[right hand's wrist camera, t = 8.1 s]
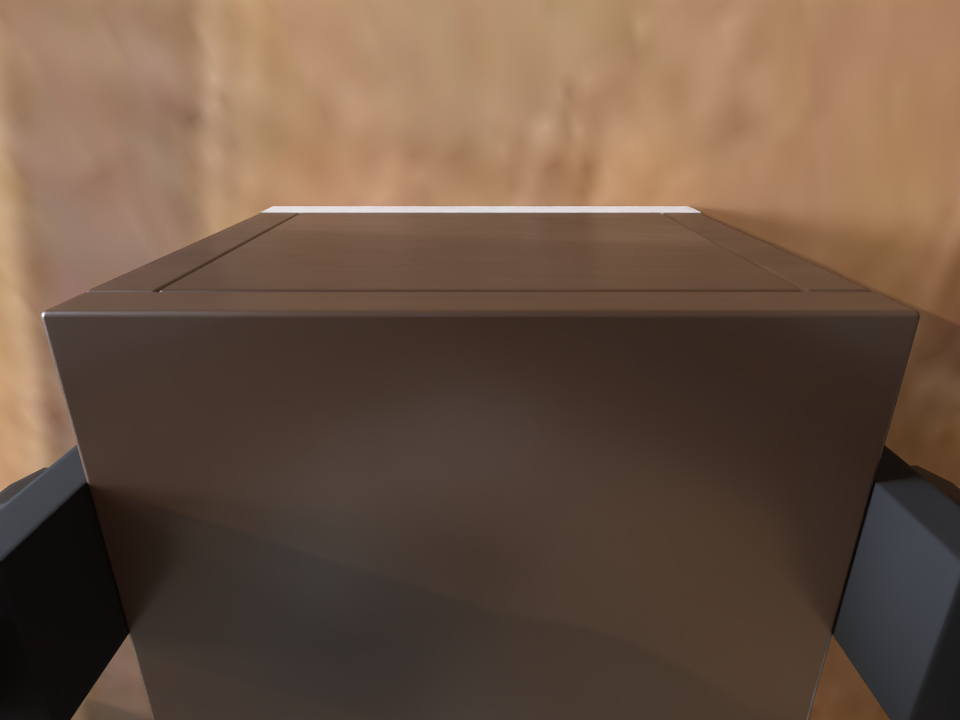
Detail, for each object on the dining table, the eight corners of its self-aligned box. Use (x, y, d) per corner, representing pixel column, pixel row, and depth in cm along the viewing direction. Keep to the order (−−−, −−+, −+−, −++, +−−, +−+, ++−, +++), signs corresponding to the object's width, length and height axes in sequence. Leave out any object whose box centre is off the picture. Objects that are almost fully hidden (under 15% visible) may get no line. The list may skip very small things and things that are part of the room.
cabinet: (635, 638, 21) (737, 983, 13) (325, 637, 21) (223, 982, 13) (688, 206, 16) (925, 310, 7) (272, 206, 16) (34, 311, 7)
